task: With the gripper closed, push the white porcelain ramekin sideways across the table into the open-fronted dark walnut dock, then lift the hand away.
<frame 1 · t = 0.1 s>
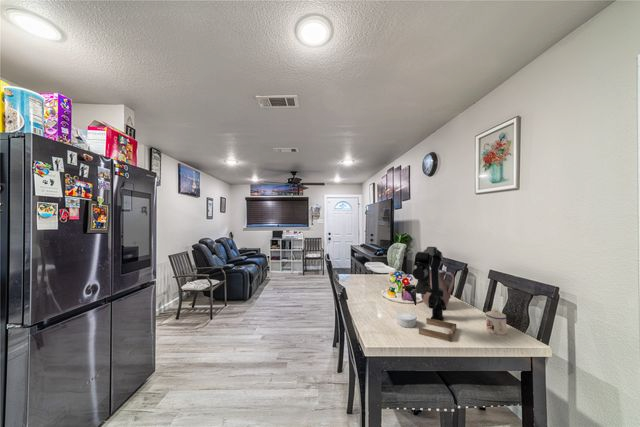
hand: (424, 306, 131), 15 cm above the table, fingers open, 9 cm apart
ramekin: (406, 325, 145), on the table
walnut dock: (436, 331, 135), on the table
teacup with lid: (498, 333, 133), on the table
ceramic pitcher: (438, 307, 173), on the table
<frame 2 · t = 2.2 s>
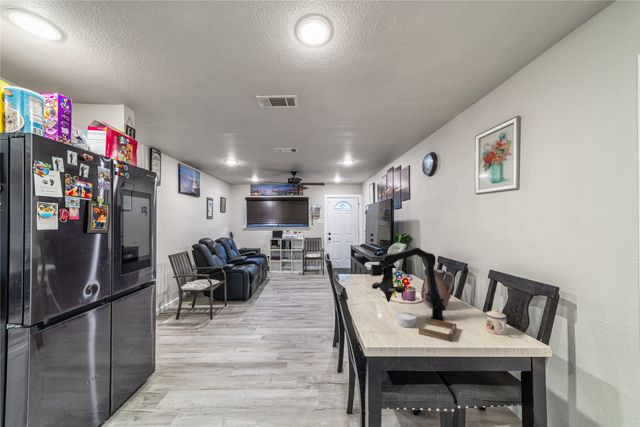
hand: (388, 301, 151), 11 cm above the table, fingers closed
nothing on the table moved.
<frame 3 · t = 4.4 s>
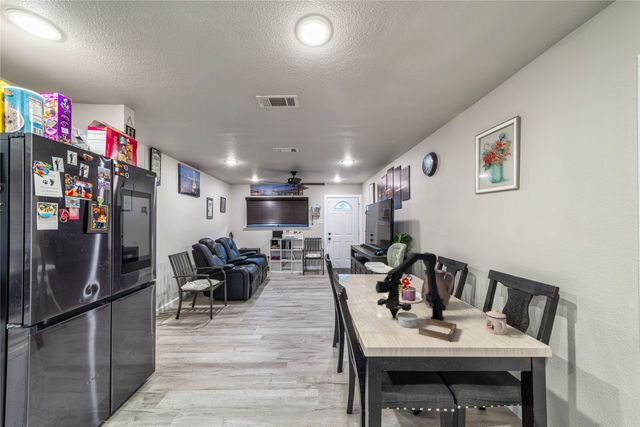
hand: (394, 319, 149), 2 cm above the table, fingers closed
ramekin: (407, 325, 144), on the table, touching gripper
everything else where it was.
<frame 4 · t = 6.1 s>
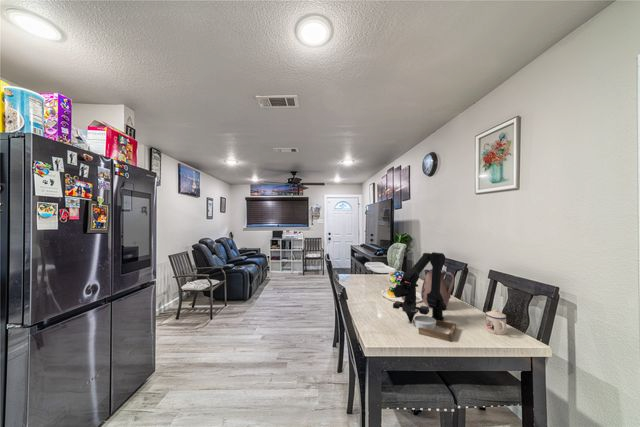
hand: (410, 322, 143), 2 cm above the table, fingers closed
ramekin: (425, 329, 139), on the table, touching gripper
everything else where it was.
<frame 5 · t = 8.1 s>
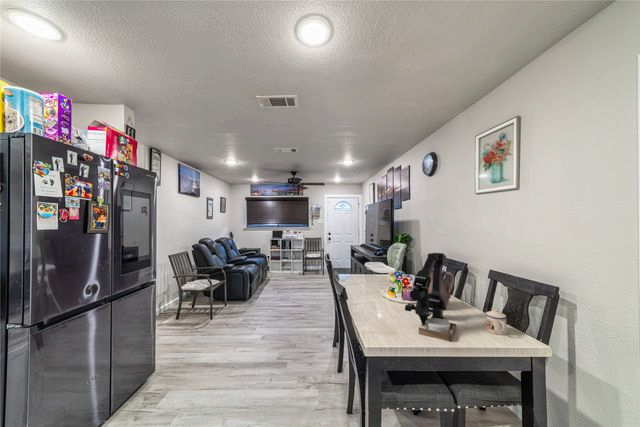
hand: (423, 325, 139), 2 cm above the table, fingers closed
ramekin: (438, 332, 134), on the table, touching gripper
everything else where it was.
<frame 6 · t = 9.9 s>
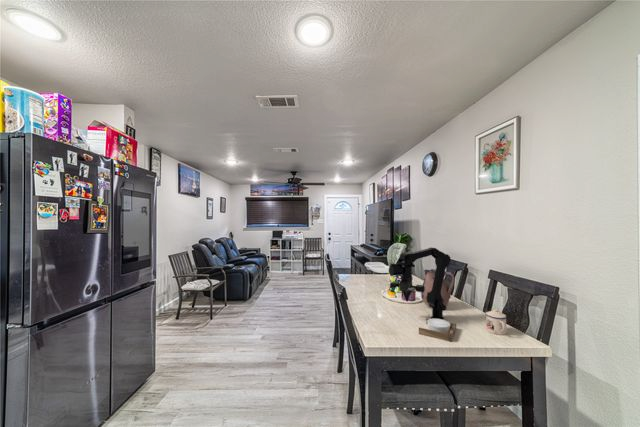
hand: (407, 301, 149), 12 cm above the table, fingers closed
ramekin: (438, 332, 134), on the table
everything else where it was.
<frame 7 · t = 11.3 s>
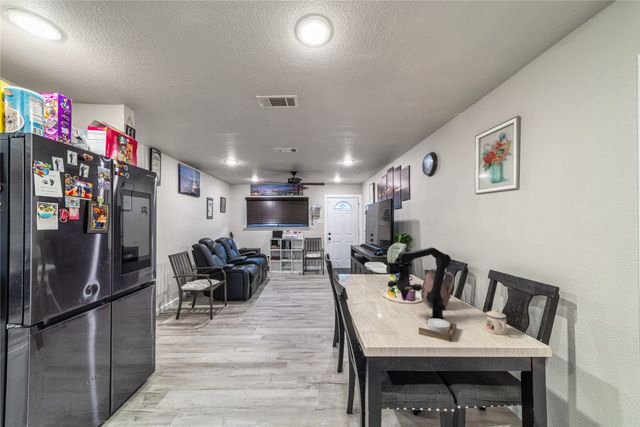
hand: (404, 300, 151), 12 cm above the table, fingers closed
nothing on the table moved.
at the end: ramekin 1.6 cm off-centre on the walnut dock, point 0.0 cm above the walnut dock's base; ramekin moved 17.1 cm from its start; ramekin tilted 0° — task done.
